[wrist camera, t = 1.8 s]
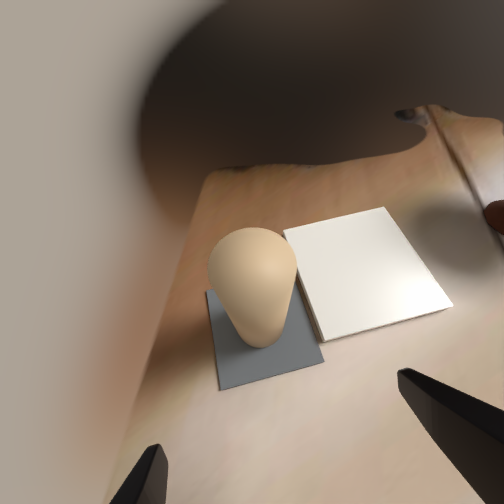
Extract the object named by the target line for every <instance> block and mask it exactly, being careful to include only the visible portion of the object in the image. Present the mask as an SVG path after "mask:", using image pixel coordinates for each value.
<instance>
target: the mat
mask: <svg viewBox="0 0 504 504" xmlns="http://www.w3.org/2000/svg"><path fill="white" fill-rule="evenodd" d="M206 291H207V298H208V305H209V312H210V319H211V326H212V333H213V339H214V346H215V353H216V360H217V367H218V374H219V381H220V388H221V390H224V389H228V388H231V387H235V386H239V385H242V384H246V383H250V382H253V381H257V380H260V379H264V378H268V377H271V376H275V375H279V374H282V373H286V372H290V371H293V370H297V369H300V368H304V367H308V366H311V365H315V364H319V363H322V362H324V359H323V356H322V353H321V351H320V348H319V345H318V342H317V340H316V337H315V334H314V331H313V329H312V326H311V323H310V320H309V318H308V315H307V312H306V309H305V307H304V304H303V301H302V298H301V296H300V293H299V290H298V287H297V285H296V282H294V286H293V290H292V294H291V299H290V303H289V307H288V311H287V316H286V320H285V324H284V328H283V332H282V334H281V336H280V338H279V339H278V340H277V341H276V342H275V343H274V344H273V345H271V346H269V347H265V348H255V347H252V346H250V345H248V344H247V343H245V342H244V341H243V340H242V339H241V337H240V335H239V334H238V332H237V330H236V328H235V327H234V325H233V323H232V321H231V319H230V318H229V316H228V314H227V312H226V311H225V309H224V307H223V305H222V303H221V302H220V300H219V298H218V296H217V295H216V293H215V291H214V289H210V290H206Z"/></svg>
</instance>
